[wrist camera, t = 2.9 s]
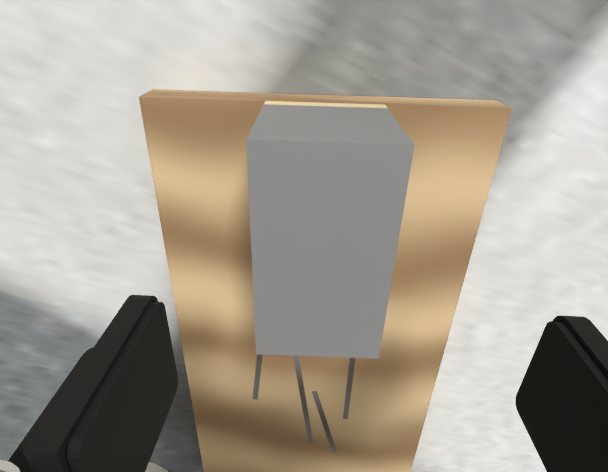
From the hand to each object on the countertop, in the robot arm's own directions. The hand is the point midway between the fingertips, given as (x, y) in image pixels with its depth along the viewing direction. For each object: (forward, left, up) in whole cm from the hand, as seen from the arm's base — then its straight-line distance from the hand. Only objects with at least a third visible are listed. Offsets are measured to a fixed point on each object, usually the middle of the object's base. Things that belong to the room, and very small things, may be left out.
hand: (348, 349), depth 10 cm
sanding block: (0, -1, -8) cm, 8 cm away
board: (+9, -1, -10) cm, 13 cm away
